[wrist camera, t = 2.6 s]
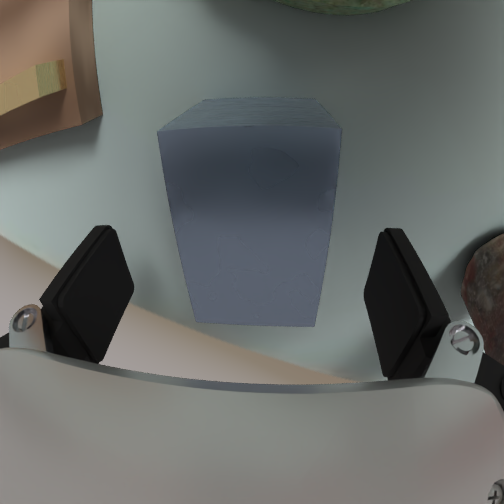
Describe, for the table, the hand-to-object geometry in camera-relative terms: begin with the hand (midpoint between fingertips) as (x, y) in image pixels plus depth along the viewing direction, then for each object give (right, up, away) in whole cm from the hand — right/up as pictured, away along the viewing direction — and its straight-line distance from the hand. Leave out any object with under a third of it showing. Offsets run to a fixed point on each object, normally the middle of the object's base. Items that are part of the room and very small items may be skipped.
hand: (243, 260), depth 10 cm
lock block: (+1, +4, +4) cm, 6 cm away
